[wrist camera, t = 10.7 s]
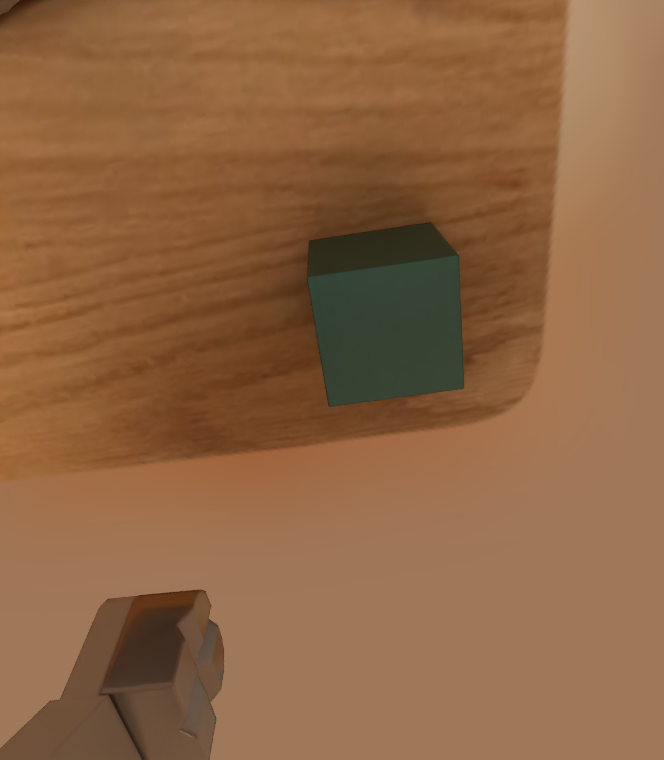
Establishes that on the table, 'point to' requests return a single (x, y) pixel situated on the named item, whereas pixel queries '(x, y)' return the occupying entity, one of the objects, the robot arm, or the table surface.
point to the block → (386, 313)
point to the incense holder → (6, 5)
